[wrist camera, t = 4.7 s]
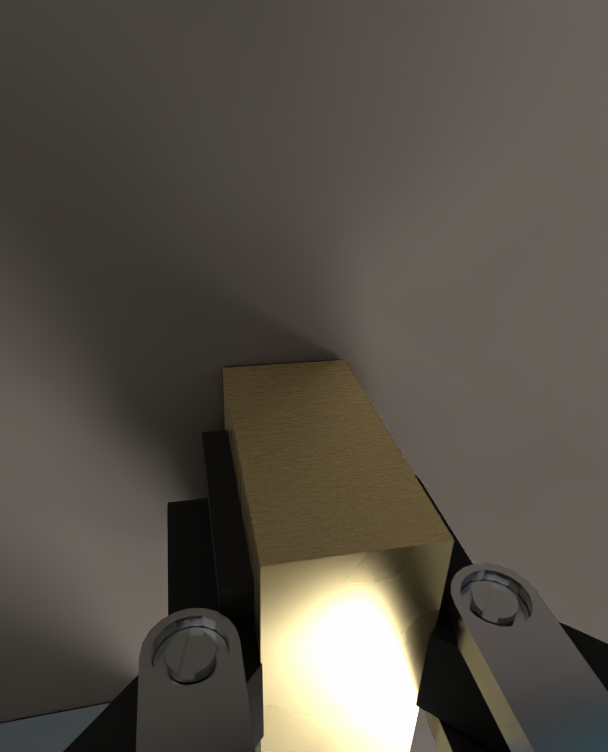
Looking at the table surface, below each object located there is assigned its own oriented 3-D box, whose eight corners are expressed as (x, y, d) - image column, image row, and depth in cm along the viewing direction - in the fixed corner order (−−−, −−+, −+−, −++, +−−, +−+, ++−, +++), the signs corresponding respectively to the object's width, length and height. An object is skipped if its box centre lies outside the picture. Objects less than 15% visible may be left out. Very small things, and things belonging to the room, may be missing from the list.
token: (344, 359, 11) (453, 540, 7) (330, 546, 14) (406, 767, 9) (222, 368, 11) (260, 566, 7) (229, 560, 13) (260, 799, 9)
